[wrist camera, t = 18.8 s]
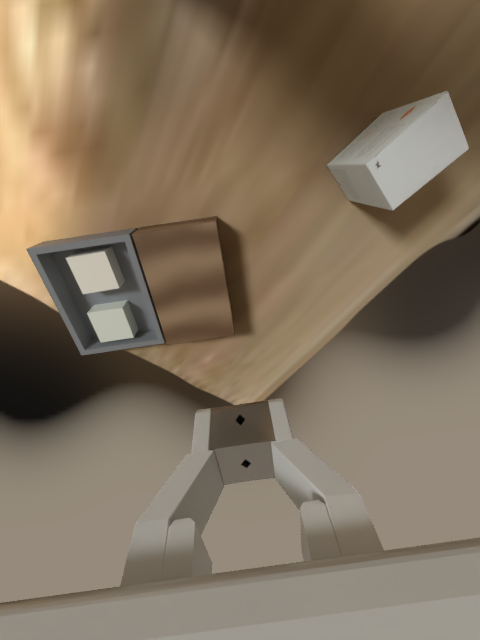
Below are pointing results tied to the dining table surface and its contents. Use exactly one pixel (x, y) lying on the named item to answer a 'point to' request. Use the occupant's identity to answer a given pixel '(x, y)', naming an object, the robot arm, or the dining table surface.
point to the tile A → (96, 270)
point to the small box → (400, 152)
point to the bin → (76, 304)
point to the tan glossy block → (187, 279)
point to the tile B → (113, 321)
